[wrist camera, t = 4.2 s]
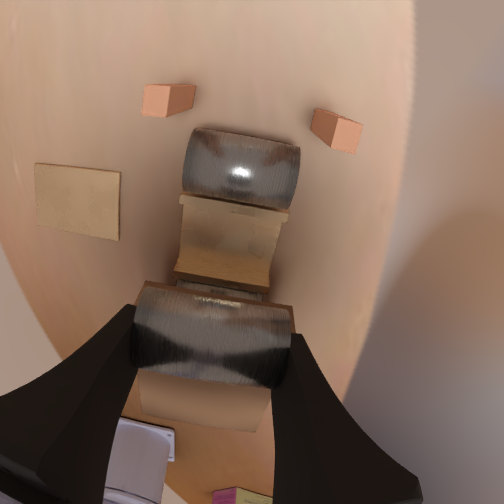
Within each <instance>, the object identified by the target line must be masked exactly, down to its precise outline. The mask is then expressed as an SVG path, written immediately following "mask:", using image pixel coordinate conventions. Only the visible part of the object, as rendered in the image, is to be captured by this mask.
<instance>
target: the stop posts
mask: <svg viewBox="0 0 504 504" xmlns="http://www.w3.org/2000/svg"><path fill="white" fill-rule="evenodd" d="M195 88H196V86H192V85H183V84H147V85H145V89H144V96H143V104H142V112H141V115H146V116H156V117H165V118H166V117H169V116H171V115H174V114H177V113H179V112H182V111H185V110H188V109H191V108H192V106H193V100H194V94H195ZM362 128H363V125H362V124H360V123H357V122H355V121H352V120H350V119H347V118H345V117H342V116H340V115H337V114H335V113H332V112H328V111H324V110H320V109H316V108H315V112H314V116H313V120H312V125H311V129H310V130H311V131H312V132H313V133H315V134H316V135H317V136H318V137H319V138H320V139H321V140H323V141H324V142H325V143H326V144H327V145H328V146H329V147H330V148H333V149H337V150H341V151H345V152H348V153H352V154H355V153H356V150H357V146H358V142H359V139H360V135H361V131H362Z"/></svg>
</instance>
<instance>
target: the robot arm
mask: <svg viewBox="0 0 504 504" xmlns="http://www.w3.org/2000/svg"><path fill="white" fill-rule="evenodd" d="M136 308H137V306H135V305H130V304H127V305H125V306H124V307H123V308H122V309H121V310H120V311H119V312H118V313H117V314H116V315H115V316H114V317H113V318H112V319H111V320H110V321H109V322H108V323H107V324H106V325H105V326H104V327H103V328H101V329H100V330H99V331H98V332H97V333H96V334H95V335H94V336H93V337H92V338H91V339H89V340H88V341H87V342H86V343H85V344H84V345H82V346H81V347H80V348H79V349H78V350H76V351H75V352H74V353H73V354H71V355H70V356H69V357H68V358H66V359H65V360H64V361H62V362H61V363H59V364H58V365H57V366H55V367H54V368H52V369H51V370H49V371H48V372H46V373H44V374H43V375H41V376H40V377H38V378H36V379H35V380H33V381H31V382H30V383H28V384H26V385H24V386H22V387H20V388H18V389H16V390H13V391H11V392H9V393H8V394H5V395H3V396H0V504H161V498H162V492H163V486H164V481H165V475H166V469H167V464H168V461H172V462H173V461H174V460H175V432H174V430H172V429H168V428H163V427H159V426H154V425H150V424H145V423H141V422H137V421H133V420H129V419H125V418H122V417H120V416H121V413H122V410H123V408H124V405H125V403H126V400H127V397H128V395H129V392H130V390H131V387H132V385H133V382H134V380H135V377H136V375H137V372H138V368H134V367H133V365H132V361H131V334H132V327H133V321H134V316H135V312H136ZM271 402H272V415H273V427H274V439H275V470H274V488H273V501H272V504H421V503H422V502H423V496H422V491H421V487H420V483H419V480H418V477H416V476H415V475H413V474H412V473H411V472H409V471H408V470H407V469H405V468H404V467H403V466H401V465H400V464H398V463H397V462H396V461H395V460H393V459H392V458H391V457H390V456H389V455H387V454H386V453H385V452H384V451H383V450H382V449H381V448H380V447H378V445H377V444H376V443H374V441H373V440H372V439H371V438H370V437H369V436H368V435H367V434H366V433H365V432H364V431H363V430H362V429H361V428H360V426H359V425H358V424H357V423H356V422H355V421H354V419H353V418H352V417H351V416H350V415H349V413H348V412H347V410H346V409H345V408H344V406H343V405H342V403H341V402H340V401H339V399H338V398H337V396H336V395H335V393H334V392H333V390H332V388H331V387H330V385H329V384H328V382H327V380H326V378H325V377H324V375H323V373H322V372H321V370H320V368H319V366H318V364H317V363H316V361H315V359H314V357H313V355H312V353H311V351H310V349H309V347H308V345H307V343H306V341H305V339H304V337H303V335H302V334H297V333H291V343H290V347H289V356H288V363H287V368H286V372H285V375H284V378H283V381H282V383H281V385H280V386H279V388H278V389H277V390H271Z"/></svg>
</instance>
